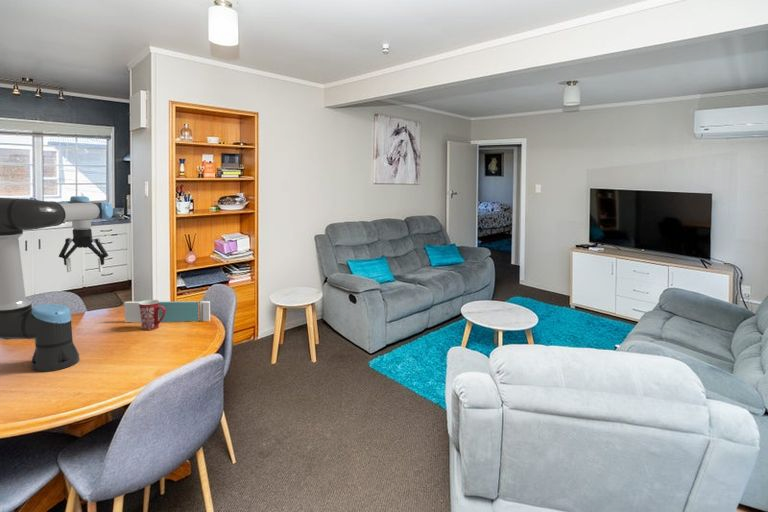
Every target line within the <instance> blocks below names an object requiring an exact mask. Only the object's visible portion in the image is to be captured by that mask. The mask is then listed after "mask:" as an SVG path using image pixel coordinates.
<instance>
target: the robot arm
mask: <svg viewBox="0 0 768 512" xmlns="http://www.w3.org/2000/svg"><path fill="white" fill-rule="evenodd" d="M113 215H114V208H113V206H112V204H111V203H109V202H103V201H102V202H96V201H95V202H94V201H90V198H89V197H88V196H85V195H83V196H81V195H80V196H79V195H78V196H77V195H75V196H70V200H69V201H67V200H66V201H65V200H63V201H58V202H57V201H53V200H52V201H51V200H50V201H46V200H39V199H32V198H13V197H0V340H7V341H8V340H9V341H10V340H34V345H35V346H34V348H35V349H34V351H33V355H32V358H31V362H30V365H31V366H30V367H31V369H32V371H36V372H54V371H58V370H65V368H70V367H72V366H74V365H76V364H77V363H79V362H80V353H79V352H78V349H77V347H76V346H75V343H74V339H73V327H72V326H73V325H72V315H71V310H70V308H69V307H68V306H66V305H64V304H58V303H57V304H56V303H47V304H46V303H43V304H38V305H35V306H33V305H32V301H30V300H28V299H27V298H26V291H25V282H24V273H23V266H22V258H21V257H22V256H21V250H20V249H21V248H20V242H19V241H20V240H19V238H20V237H21V236H22V235H23V234H24V231H32V230H39V229H40V230H41V229H45V228H51V227H57V226H61V225H62V224H63V223H70V222H71V225H72V226H71V227H72V228H73V229H72V238H71V237H68V238H65V240H64V241H65V242H64V244H63V246H62V249H61V251H60V252H59V255H58V258H62V259H63V265H64V266H65V267H66V273H70V272H72V264H71V262H72V261H71V255H72V254H73V253H74V252H75V250H76V249H78V248H79V249H81V248H84V249H86V248H89V249H90V250H91V251H92V252H93V253H94V254H95V255H96V256H97V257H98V259H97V266H98V272H100V273H101V272H103V265H105V258H107V257H109V254H108V252H107V251H106V249H105V248H104V246H103V244H102V242H101V240H100V238H99V237H97V238H93V234H92V233H93V232H92V220H109V219H111V218H112V217H113ZM71 243H73V245H72V247H70V245H71ZM93 243H94V244H95V245H96V247H95V245H94V244H93ZM69 247H70V249H69ZM97 248H98V249H97ZM68 249H69V250H68ZM67 250H68V251H67Z"/></svg>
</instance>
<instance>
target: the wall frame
mask: <svg viewBox="0 0 768 512" xmlns="http://www.w3.org/2000/svg"><path fill="white" fill-rule="evenodd" d="M139 302H140V301H125V302H124V303H123V305H124V319H125V320H124V321H125V323H126V322H131V323H141V315H140V307H139ZM198 314H199V321H198V322H200V321H209V322H211V301H210V300H209V301H207V300H206V301H205V300H198Z"/></svg>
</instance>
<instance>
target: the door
mask: <svg viewBox="0 0 768 512" xmlns="http://www.w3.org/2000/svg"><path fill="white" fill-rule="evenodd" d="M159 306H163V307H164V308H165V310H166V313H165V316H164V318H163V319H162V321H161V322H160V323H186V322H185V321H196V322H195V323H197V321H198V322H200V321H199V300H198V301H192V300H191V301H189V300H188V301H159ZM162 315H163V310H162V308H159V320H160V319H161V317H162ZM175 321H176V322H175ZM180 321H181V322H180ZM183 321H184V322H183Z"/></svg>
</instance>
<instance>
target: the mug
mask: <svg viewBox="0 0 768 512" xmlns="http://www.w3.org/2000/svg"><path fill="white" fill-rule="evenodd" d="M138 302H139V307H140V315H141V322H140V323H141V329H142V330H143V331H153V330H157V329H159V327H160V323H162V322H161V321H162V319H163V318H164V316H165V313H166V310H165V308H164V307H163V306H159V302H160V300H158V299H147V300H146V299H145V300H142V301H138ZM159 308H162V310H163V315H162V317H161V319H160V320H159Z"/></svg>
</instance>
